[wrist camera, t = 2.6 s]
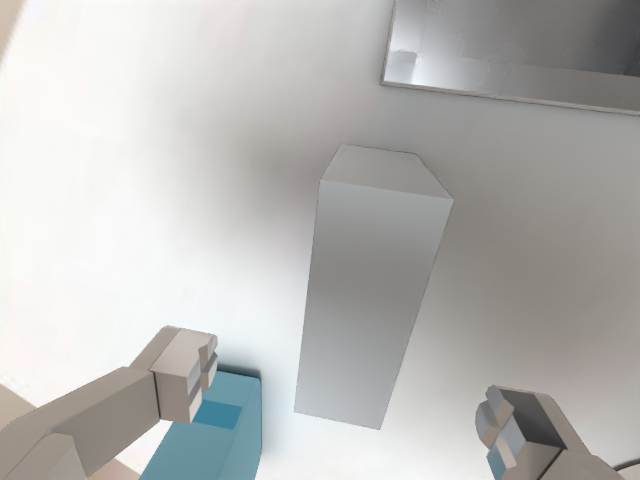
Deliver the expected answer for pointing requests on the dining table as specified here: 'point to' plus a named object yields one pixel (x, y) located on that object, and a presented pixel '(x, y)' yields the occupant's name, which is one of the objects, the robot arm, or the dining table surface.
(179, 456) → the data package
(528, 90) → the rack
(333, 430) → the dining table surface
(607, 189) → the dining table surface
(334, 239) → the light grey block
